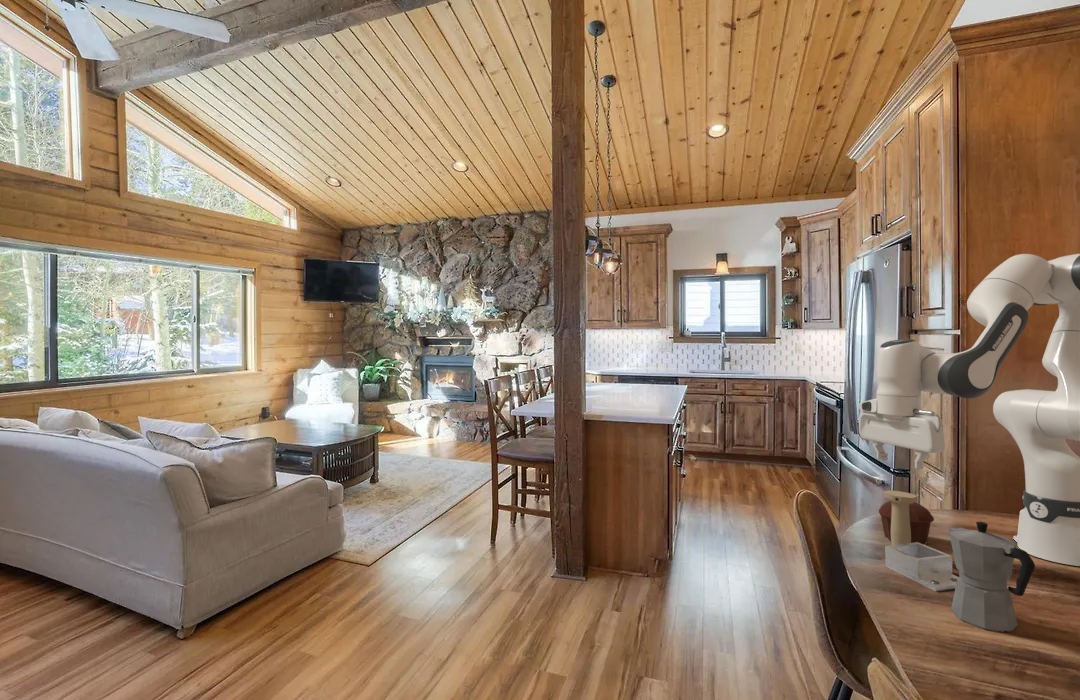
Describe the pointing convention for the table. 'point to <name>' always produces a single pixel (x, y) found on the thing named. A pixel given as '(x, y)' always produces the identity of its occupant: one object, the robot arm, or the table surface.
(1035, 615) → the table surface
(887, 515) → the muffin
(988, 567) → the coffeepot
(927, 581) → the flanged open box
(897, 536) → the handle
